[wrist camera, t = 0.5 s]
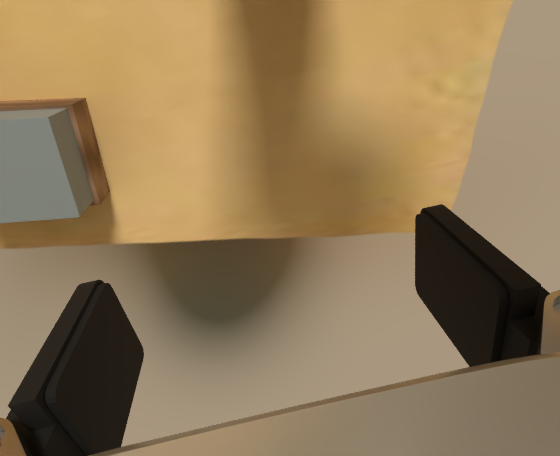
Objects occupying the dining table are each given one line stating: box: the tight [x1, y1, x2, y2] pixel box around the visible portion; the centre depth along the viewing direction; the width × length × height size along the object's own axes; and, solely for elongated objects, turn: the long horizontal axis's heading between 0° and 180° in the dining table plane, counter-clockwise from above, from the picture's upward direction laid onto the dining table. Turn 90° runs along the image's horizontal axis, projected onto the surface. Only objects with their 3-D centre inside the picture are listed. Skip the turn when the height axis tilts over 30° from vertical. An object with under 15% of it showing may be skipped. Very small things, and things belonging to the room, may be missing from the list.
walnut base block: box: [0, 98, 110, 205], centre depth 40 cm, size 11×15×4 cm
